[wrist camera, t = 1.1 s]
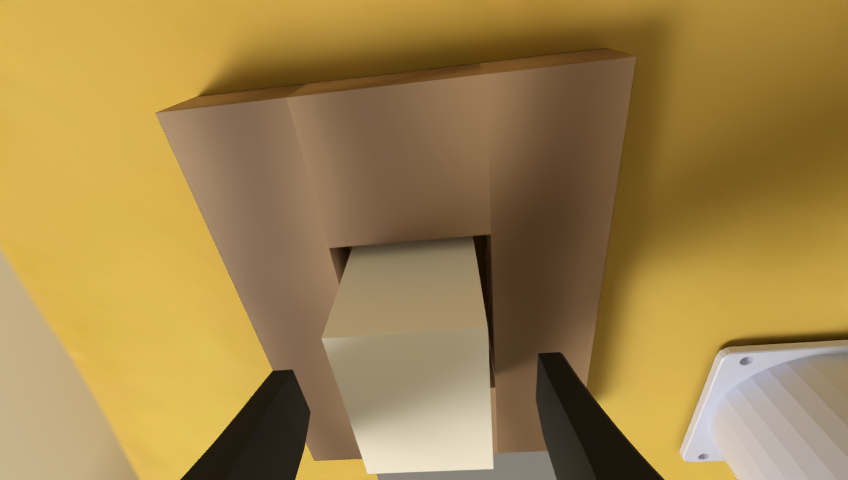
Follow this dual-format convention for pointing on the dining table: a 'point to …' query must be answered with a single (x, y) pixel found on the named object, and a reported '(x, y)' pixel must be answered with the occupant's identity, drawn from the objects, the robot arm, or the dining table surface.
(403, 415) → the plug
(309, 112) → the block
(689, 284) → the dining table surface
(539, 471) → the mat
